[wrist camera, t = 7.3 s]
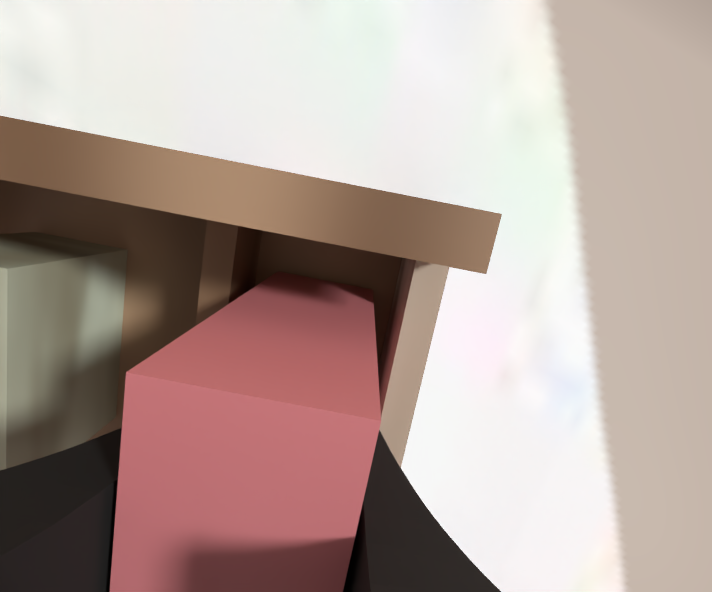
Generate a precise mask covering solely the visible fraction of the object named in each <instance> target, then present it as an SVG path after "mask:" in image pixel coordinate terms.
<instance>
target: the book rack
mask: <svg viewBox="0 0 712 592" xmlns="http://www.w3.org/2000/svg"><path fill="white" fill-rule="evenodd" d="M501 215H502V214H499V213H493V212H488V211H483V210H478V209H473V208H468V207H463V206H458V205H453V204H448V203H442V202H437V201H432V200H427V199H422V198H417V197H412V196H407V195H402V194H397V193H391V192H386V191H381V190H376V189H371V188H366V187H361V186H356V185H351V184H346V183H340V182H335V181H330V180H325V179H320V178H315V177H310V176H305V175H300V174H295V173H289V172H284V171H279V170H274V169H269V168H264V167H259V166H254V165H249V164H244V163H238V162H233V161H228V160H223V159H218V158H213V157H208V156H203V155H198V154H193V153H187V152H182V151H177V150H172V149H167V148H162V147H157V146H152V145H147V144H142V143H136V142H131V141H126V140H121V139H116V138H111V137H106V136H101V135H96V134H91V133H85V132H80V131H75V130H70V129H65V128H60V127H55V126H50V125H45V124H40V123H34V122H29V121H24V120H19V119H14V118H9V117H4V116H0V234H8V233H24V232H39V233H44V234H49V235H54V236H60V237H65V238H70V239H75V240H80V241H85V242H91V243H96V244H101V245H106V246H111V247H117V248H122V249H127V250H128V252H127V267H126V281H125V295H124V309H123V324H122V338H121V352H120V366H119V381H118V395H117V409H116V417H115V418H114V419H113V420H112V421H110V422H109V423H108V424H107V425H105V426H104V427H103V428H102V429H101V430H99V431H98V432H97V433H96V434H94V435H93V436H92V437H91V438H90V439H88V440H87V441H89V440H92V439H94V438H97V437H99V436H102V435H104V434H107V433H109V432H112V431H115V430H117V429H120V428H122V420H123V406H124V393H125V380H126V372H127V371H129V370H130V369H132V368H133V367H135V366H136V365H138V364H139V363H141V362H142V361H144V360H145V359H147V358H148V357H150V356H151V355H153V354H154V353H156V352H157V351H159V350H160V349H162V348H163V347H165V346H166V345H168V344H169V343H171V342H172V341H174V340H175V339H177V338H178V337H180V336H181V335H183V334H184V333H186V332H187V331H189V330H190V329H192V328H193V327H195V326H196V325H198V324H199V323H201V322H202V321H204V320H205V319H207V318H208V317H210V316H211V315H213V314H215V313H216V312H218V311H219V310H221V309H222V308H224V307H225V306H227V305H228V304H230V303H231V302H233V301H234V300H236V299H237V298H239V297H240V296H242V295H243V294H245V293H246V292H248V291H249V290H251V289H252V288H254V287H255V286H257V285H258V284H260V283H261V282H263V281H264V280H266V279H267V278H269V277H270V276H272V275H273V274H275V273H276V272H278V271H279V272H284V273H289V274H294V275H300V276H305V277H310V278H315V279H320V280H325V281H331V282H336V283H341V284H346V285H351V286H356V287H361V288H367V289H372V290H373V301H374V316H375V332H376V347H377V363H378V378H379V394H380V409H381V424H380V429H379V430H380V431H381V433H382V435H383V437H384V439H385V441H386V443H387V445H388V447H389V448H390V450H391V452H392V454H393V456H394V457H395V459H396V461H397V463H398V464H399V466H400V468H401V464H402V460H403V456H404V452H405V448H406V443H407V439H408V435H409V431H410V427H411V423H412V419H413V414H414V410H415V406H416V402H417V398H418V394H419V390H420V386H421V381H422V377H423V373H424V369H425V365H426V361H427V357H428V353H429V348H430V344H431V340H432V336H433V332H434V328H435V324H436V320H437V315H438V311H439V307H440V303H441V299H442V295H443V291H444V286H445V282H446V278H447V274H448V270H449V267H453V268H458V269H463V270H468V271H474V272H479V273H484V274H486V272H487V269H488V265H489V261H490V257H491V253H492V250H493V246H494V242H495V238H496V234H497V231H498V227H499V223H500V219H501ZM87 441H86V442H87Z"/></svg>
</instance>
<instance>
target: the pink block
mask: <svg viewBox="0 0 712 592" xmlns="http://www.w3.org/2000/svg"><path fill="white" fill-rule="evenodd" d="M380 424H381V409H380V394H379V378H378V363H377V347H376V332H375V316H374V301H373V290H372V289H367V288H361V287H356V286H351V285H346V284H341V283H336V282H331V281H325V280H320V279H315V278H310V277H305V276H300V275H294V274H289V273H284V272H279V271H278V272H276V273H275V274H273V275H272V276H270V277H269V278H267V279H266V280H264V281H263V282H261V283H260V284H258V285H257V286H255V287H254V288H252V289H251V290H249V291H248V292H246V293H245V294H243V295H242V296H240V297H239V298H237V299H236V300H234V301H233V302H231V303H230V304H228V305H227V306H225V307H224V308H222V309H221V310H219V311H218V312H216V313H215V314H213V315H211V316H210V317H208V318H207V319H205V320H204V321H202V322H201V323H199V324H198V325H196V326H195V327H193V328H192V329H190V330H189V331H187V332H186V333H184V334H183V335H181V336H180V337H178V338H177V339H175V340H174V341H172V342H171V343H169V344H168V345H166V346H165V347H163V348H162V349H160V350H159V351H157V352H156V353H154V354H153V355H151V356H150V357H148V358H147V359H145V360H144V361H142V362H141V363H139V364H138V365H136V366H135V367H133V368H132V369H130V370H129V371H127V372H126V380H125V393H124V406H123V420H122V433H121V446H120V460H119V473H118V486H117V499H116V513H115V526H114V539H113V553H112V566H111V579H110V592H343V589H344V584H345V580H346V575H347V571H348V567H349V562H350V558H351V553H352V549H353V544H354V540H355V535H356V531H357V527H358V522H359V518H360V513H361V509H362V504H363V500H364V495H365V491H366V486H367V482H368V478H369V473H370V469H371V464H372V460H373V455H374V451H375V446H376V442H377V437H378V433H379V429H380Z"/></svg>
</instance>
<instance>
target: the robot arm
mask: <svg viewBox="0 0 712 592" xmlns="http://www.w3.org/2000/svg"><path fill="white" fill-rule="evenodd" d="M121 433H122V428H120V429H117V430H115V431H112V432H109V433H107V434H104V435H102V436H99V437H97V438H94V439H92V440H89V441H87V442H84V443H82V444H79V445H77V446H74V447H71V448H69V449H66V450H63V451H60V452H57V453H54V454H51V455H48V456H45V457H42V458H39V459H36V460H33V461H30V462H26V463H23V464H20V465H17V466H14V467H10V468H7V469H4V470H0V592H110V579H111V566H112V553H113V539H114V526H115V513H116V499H117V486H118V473H119V460H120V446H121ZM343 592H501V591H500V590H499V589H498V588H497V587H496V586H495V585H494V584H493V583H492V582H491V581H490V580H489V579H488V578H487V577H486V576H485V575H484V574H483V573H482V572H481V571H480V570H479V569H478V568H477V567H476V566H475V565H474V564H473V563H472V562H471V561H470V560H469V558H468V557H467V556H466V555H465V554H464V553H463V552H462V550H461V549H460V548H459V547H458V546H457V545H456V543H455V542H454V541H453V540H452V539H451V538H450V537H449V535H448V534H447V533H446V532H445V531H444V529H443V528H442V527H441V526H440V524H439V523H438V522H437V521H436V519H435V518H434V517H433V515H432V514H431V513H430V511H429V510H428V509H427V507H426V506H425V505H424V503H423V502H422V500H421V499H420V498H419V496H418V495H417V493H416V492H415V490H414V489H413V487H412V485H411V484H410V482H409V481H408V479H407V477H406V476H405V474H404V473H403V471H402V469H401V468H400V466H399V464H398V463H397V461H396V459H395V457H394V456H393V454H392V452H391V450H390V448H389V447H388V445H387V443H386V441H385V439H384V437H383V435H382V433H381V431H380V430H379V433H378V437H377V442H376V446H375V451H374V455H373V460H372V464H371V469H370V473H369V478H368V482H367V486H366V491H365V495H364V500H363V504H362V509H361V513H360V518H359V522H358V527H357V531H356V535H355V540H354V544H353V549H352V553H351V558H350V562H349V567H348V571H347V575H346V580H345V584H344V589H343Z"/></svg>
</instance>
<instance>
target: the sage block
mask: <svg viewBox="0 0 712 592" xmlns="http://www.w3.org/2000/svg"><path fill="white" fill-rule="evenodd" d="M127 252H128V250H127V249H122V248H117V247H111V246H106V245H101V244H96V243H91V242H85V241H80V240H75V239H70V238H65V237H60V236H54V235H49V234H44V233H39V232H24V233H8V234H0V470H4V469H7V468H10V467H14V466H17V465H20V464H23V463H26V462H30V461H33V460H36V459H39V458H42V457H45V456H48V455H51V454H54V453H57V452H60V451H63V450H66V449H69V448H71V447H74V446H77V445H79V444H82V443H84V442H86V441H87V440H88V439H90V438H91V437H92V436H93V435H94V434H96V433H97V432H98V431H99V430H101V429H102V428H103V427H104V426H105V425H107V424H108V423H109V422H110V421H112V420H113V419H114V418H115V417H116V409H117V395H118V381H119V366H120V352H121V338H122V324H123V309H124V295H125V281H126V267H127Z"/></svg>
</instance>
